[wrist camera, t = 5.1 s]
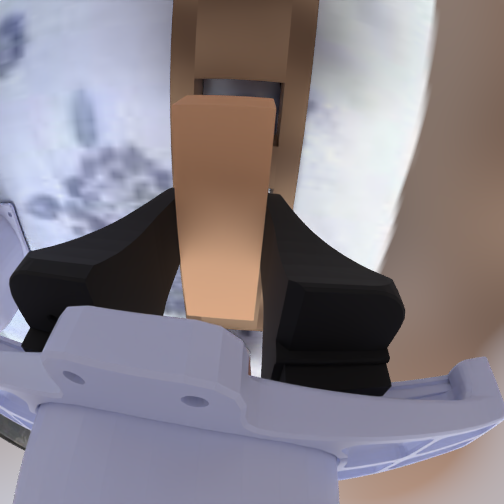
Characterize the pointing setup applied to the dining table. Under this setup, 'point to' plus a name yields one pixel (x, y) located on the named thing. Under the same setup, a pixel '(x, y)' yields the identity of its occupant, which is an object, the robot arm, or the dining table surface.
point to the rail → (249, 78)
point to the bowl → (14, 432)
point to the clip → (221, 199)
